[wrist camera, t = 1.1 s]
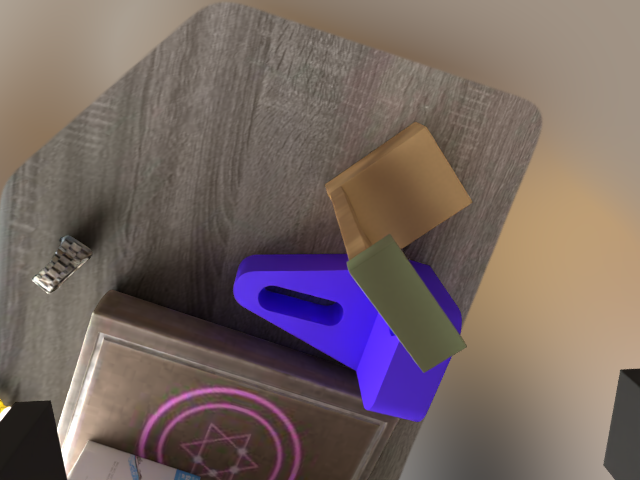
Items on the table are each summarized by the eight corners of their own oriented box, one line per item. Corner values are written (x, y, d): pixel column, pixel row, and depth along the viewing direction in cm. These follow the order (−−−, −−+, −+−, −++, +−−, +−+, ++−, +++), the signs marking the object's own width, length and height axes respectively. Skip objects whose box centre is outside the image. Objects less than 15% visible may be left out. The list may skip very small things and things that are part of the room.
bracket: (429, 265, 52) (467, 321, 41) (392, 358, 55) (417, 433, 44) (253, 215, 50) (242, 260, 38) (224, 316, 53) (207, 384, 42)
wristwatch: (89, 262, 52) (95, 249, 48) (46, 299, 49) (48, 289, 45) (65, 240, 51) (69, 225, 47) (21, 276, 49) (20, 264, 44)
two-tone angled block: (415, 121, 48) (508, 166, 27) (459, 191, 50) (574, 281, 30) (324, 184, 49) (348, 272, 29) (371, 250, 51) (423, 373, 31)
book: (57, 461, 57) (36, 497, 52) (112, 284, 51) (93, 307, 46) (317, 531, 62) (319, 570, 58) (396, 379, 56) (406, 408, 51)
